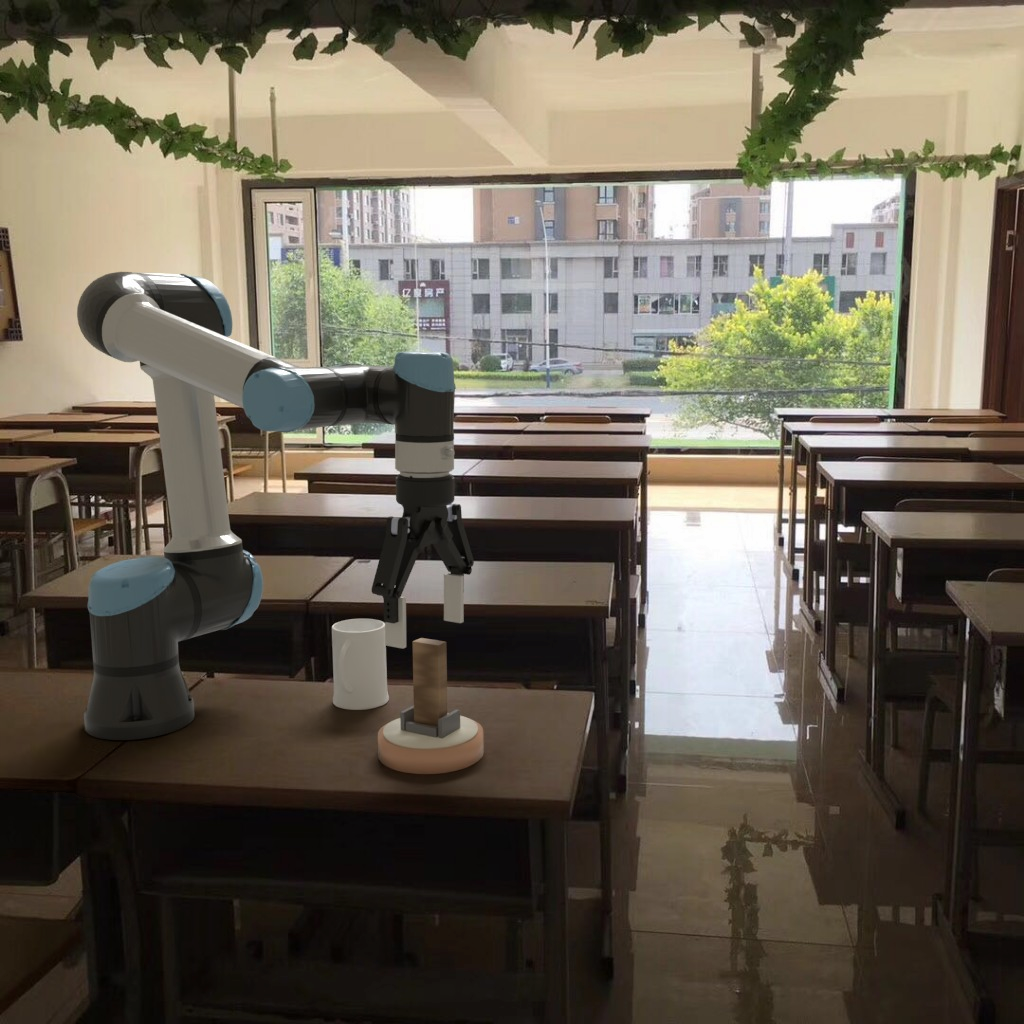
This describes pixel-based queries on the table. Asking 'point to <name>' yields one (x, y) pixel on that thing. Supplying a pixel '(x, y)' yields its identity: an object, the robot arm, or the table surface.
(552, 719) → the table surface
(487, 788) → the table surface
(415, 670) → the tall wooden post
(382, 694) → the mug
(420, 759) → the peach disc
